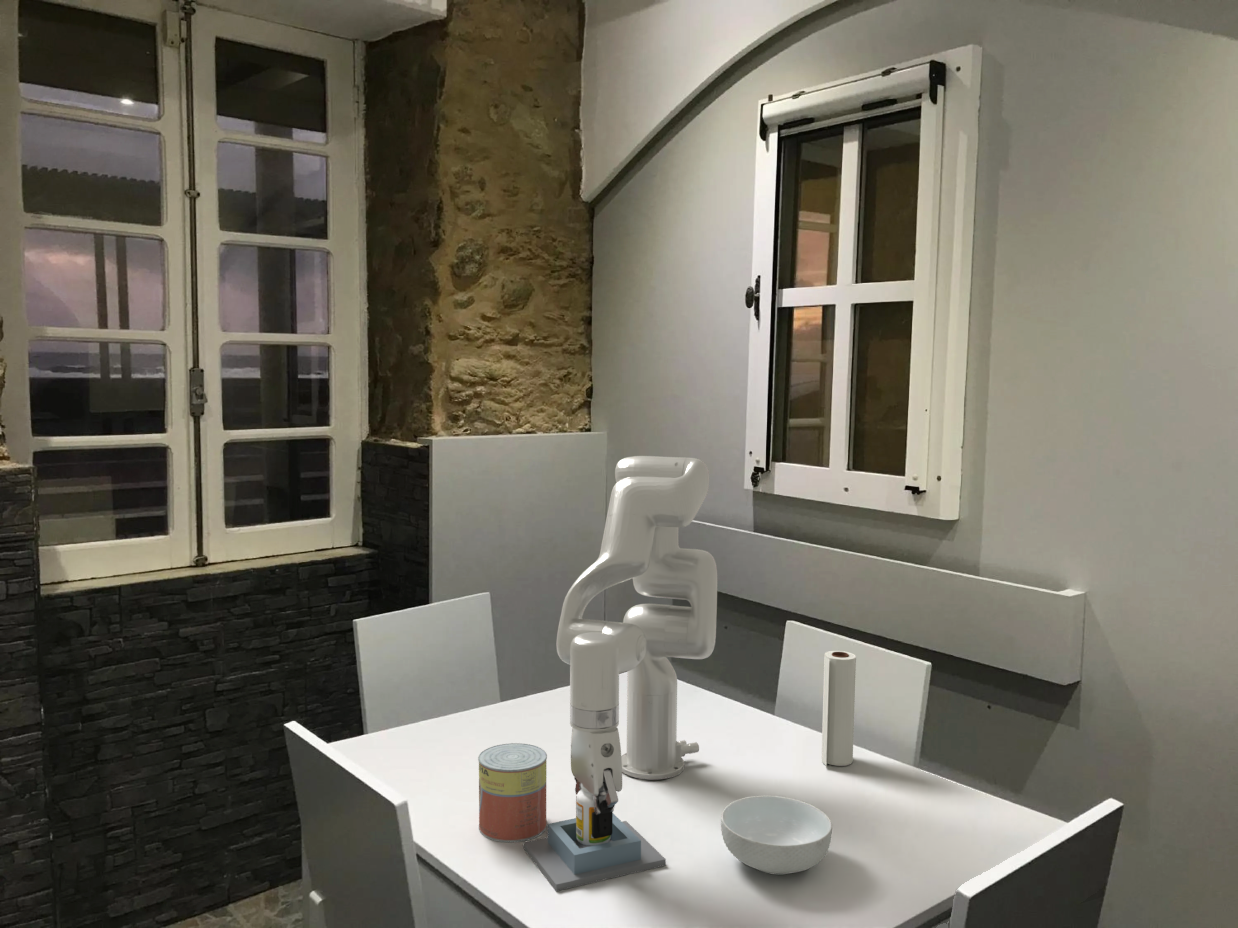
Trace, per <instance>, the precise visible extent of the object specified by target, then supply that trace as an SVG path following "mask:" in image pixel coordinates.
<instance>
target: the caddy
mask: <svg viewBox="0 0 1238 928" xmlns="http://www.w3.org/2000/svg"><path fill="white" fill-rule="evenodd" d="M522 842H523V845H522V846H523V850H524V851H525V852H526V854H527V855H528V857H529V858H530V859H531V861H532V862H533V863H534V864H535V865H536V867H537V868H538V870H539V871H540V872H541V874H542V875H543V876H544V877H545V878H546V880H547V881H548V882H549V884H550V885H551V887H553V889H554V891H555V892H558V891H562V890H568V889H572V888H576V887H580V886H585V885H589V884H593V883H597V882H600V881H605V880H609V879H614V878H618V877H622V876H626V875H630V874H634V873H641V872H644V871H647V870H651V869H656V868H657V869H658V868H660V867H664V866H666V864H667V861H666V860H667V859H666V858H665V857H664V856H663V855H662V854H661V853H660V852H659V851H658V850H657V849H656V848H655V847H654V846H653V845H652V844H651V843H649V841H647V840H646V839H645V838H644V836H642V835H641V834H640V833H639V832H638V831H637V830H636V829H635V828H634V827H633V826H632V825H631V824H630V823H629V821H627V820H623V821H621V819H619V817H617V816H616V814H614V813H613V817H612V835H611V838H610V840H609V841H608V842H607V843H604V844H599V845H594V846H586V845H583V844H581V843H579V842H578V840H577V837H576V817H575V818H570V819H566V820H560V821H555V822H550V823H547V837H543V838H538V839H533V840H532V839H531V840H526V841H522Z"/></svg>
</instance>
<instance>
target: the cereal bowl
mask: <svg viewBox="0 0 1238 928" xmlns="http://www.w3.org/2000/svg"><path fill="white" fill-rule="evenodd" d="M720 827H721V829H720V830H721V835H722V840H723V842H724V844H725V846H726V848H727V850H728V851H729V852H730V854H732V855H733V856H734V857H735V858H736V859H737V860H738V861H740V862H741V863H743V864H744V865H746V866H749V867H750V868H754V869H756V870H758V871H760V872H763V873H766V874H771V875H788V874H792V873H800V872H804V871H806V870H807V871H808V869H811V868H813V867H814V866H816V865H817V864H819V863H820V862H821V861H822V860H823V859H824V858H825V856H826V855H827V852H829V849H830V846H831V843H832V834H833V824H832V821H831V819H830V818H829V816H828V815H827V814H826V813H825V812H824V811H823V810H821V809H819V808H818V807H816V806H814V805H812V804H810V803H807V802H805V801H803V800H799V799H796V798H791V797H790V798H789V797H786V796H780V795H755V796H747V797H743V798H739V799H736V800H734V801H732V802H731V803H729V804H727V806H726V807H725V808H724V809H723V810H722V812H721V819H720Z"/></svg>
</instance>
